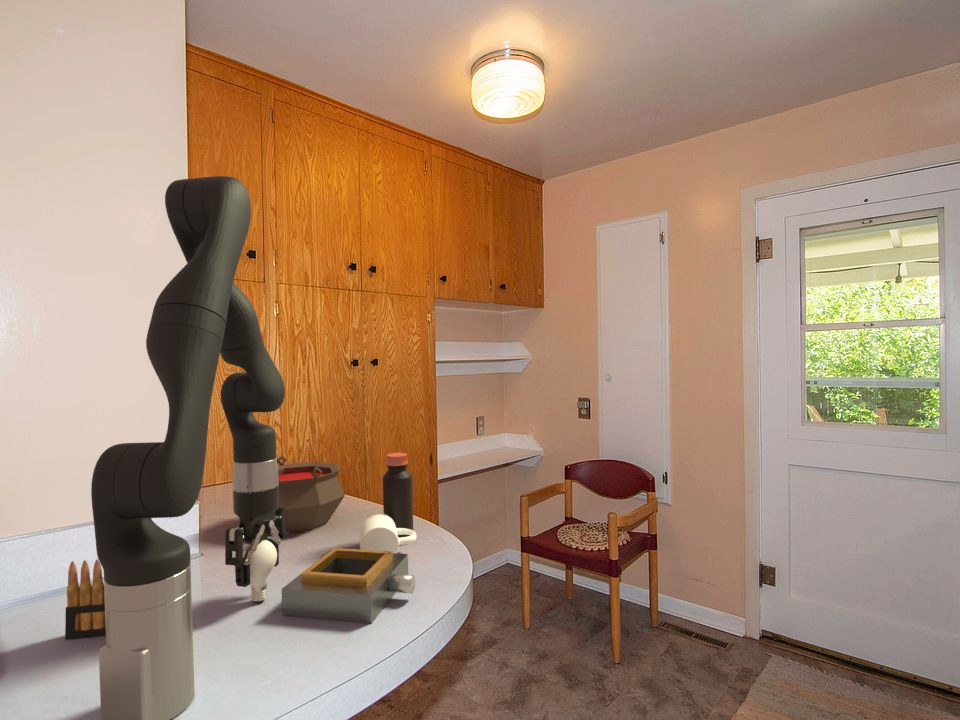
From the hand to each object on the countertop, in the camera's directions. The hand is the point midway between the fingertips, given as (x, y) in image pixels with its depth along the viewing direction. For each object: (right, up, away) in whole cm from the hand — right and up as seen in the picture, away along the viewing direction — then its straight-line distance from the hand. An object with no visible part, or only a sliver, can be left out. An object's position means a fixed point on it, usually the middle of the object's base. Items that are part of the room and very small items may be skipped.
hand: (258, 575), depth 96 cm
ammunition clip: (-20, -6, -10) cm, 23 cm away
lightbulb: (0, -5, 0) cm, 5 cm away
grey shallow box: (+18, -4, +2) cm, 18 cm away
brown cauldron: (-7, -4, +43) cm, 44 cm away
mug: (+20, -4, +20) cm, 29 cm away
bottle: (+21, -4, +30) cm, 36 cm away
